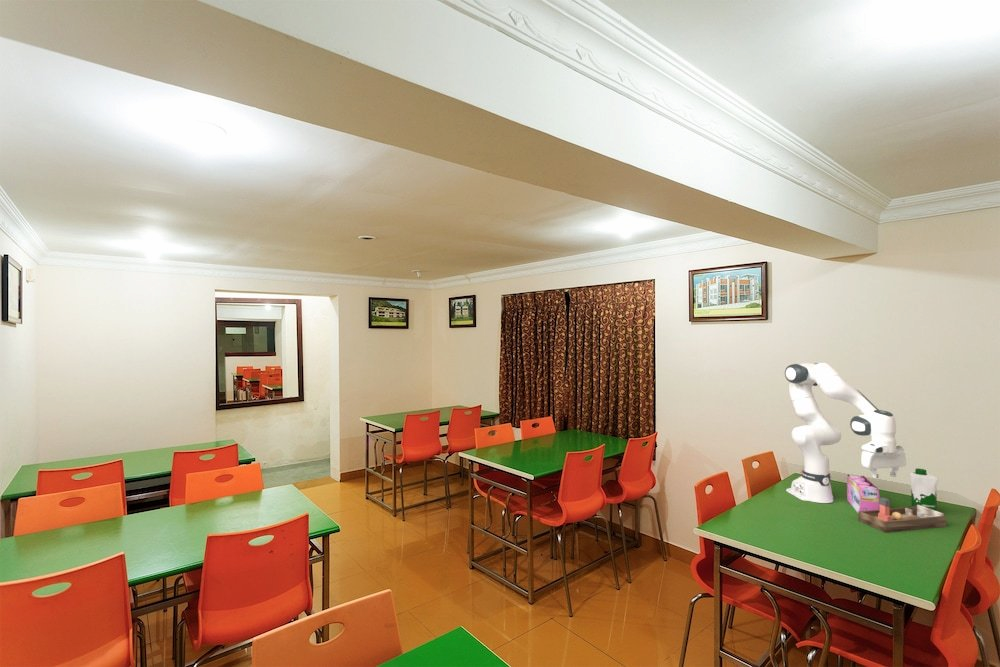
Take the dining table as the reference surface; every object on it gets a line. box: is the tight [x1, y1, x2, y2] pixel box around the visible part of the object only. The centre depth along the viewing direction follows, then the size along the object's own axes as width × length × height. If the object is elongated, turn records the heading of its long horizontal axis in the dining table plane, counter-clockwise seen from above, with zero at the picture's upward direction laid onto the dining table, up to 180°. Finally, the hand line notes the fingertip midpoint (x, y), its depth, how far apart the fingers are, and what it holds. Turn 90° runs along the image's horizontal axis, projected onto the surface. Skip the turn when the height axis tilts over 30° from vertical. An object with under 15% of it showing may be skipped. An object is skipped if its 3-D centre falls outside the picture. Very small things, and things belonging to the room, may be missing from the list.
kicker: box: [878, 497, 891, 521], centre depth 216 cm, size 4×2×10 cm, turn 9°
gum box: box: [846, 474, 880, 513], centre depth 237 cm, size 24×8×14 cm, turn 157°
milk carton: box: [909, 468, 939, 511], centre depth 230 cm, size 9×9×20 cm
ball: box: [892, 512, 902, 520], centre depth 217 cm, size 4×4×4 cm
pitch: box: [857, 505, 947, 533], centre depth 217 cm, size 13×32×6 cm, turn 99°
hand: (884, 477), depth 215 cm, fingers open, 8 cm apart
